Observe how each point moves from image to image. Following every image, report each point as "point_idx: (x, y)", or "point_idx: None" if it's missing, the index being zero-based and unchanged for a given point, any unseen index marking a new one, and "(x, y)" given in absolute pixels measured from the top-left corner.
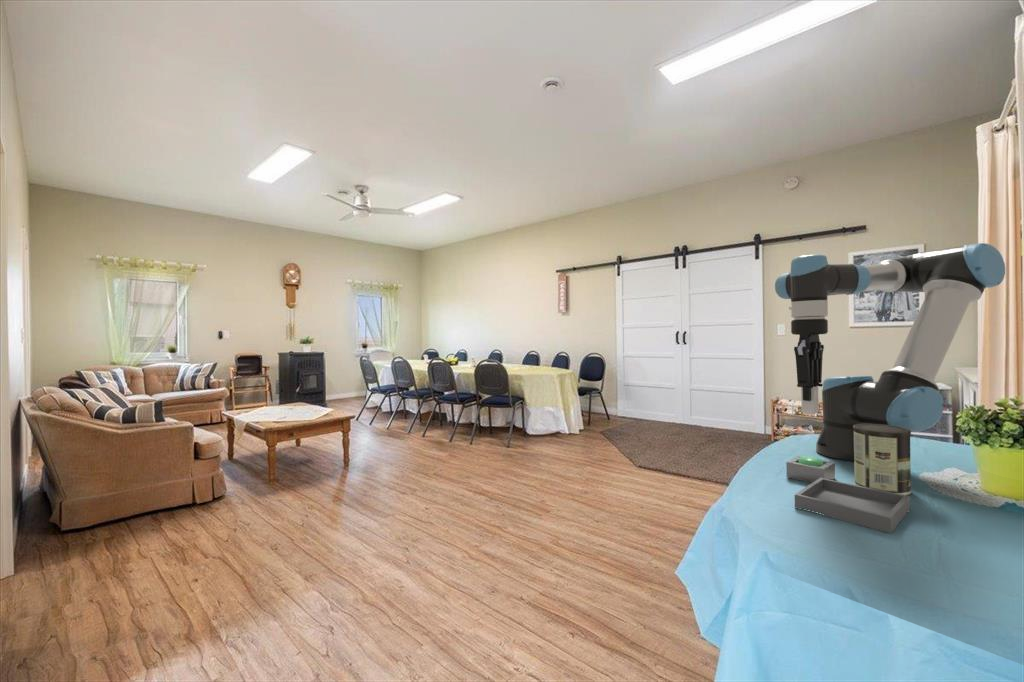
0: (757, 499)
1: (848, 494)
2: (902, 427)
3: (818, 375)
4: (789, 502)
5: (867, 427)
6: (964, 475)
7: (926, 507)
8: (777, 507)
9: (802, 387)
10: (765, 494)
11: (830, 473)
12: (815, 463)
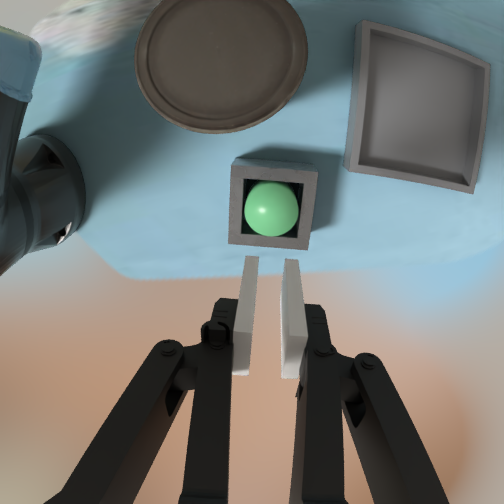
0: (452, 240)
1: (365, 115)
2: (157, 8)
3: (200, 384)
4: (443, 198)
5: (226, 88)
6: (48, 14)
7: (315, 3)
8: (470, 208)
9: (298, 374)
10: (425, 237)
11: (268, 163)
12: (293, 195)
